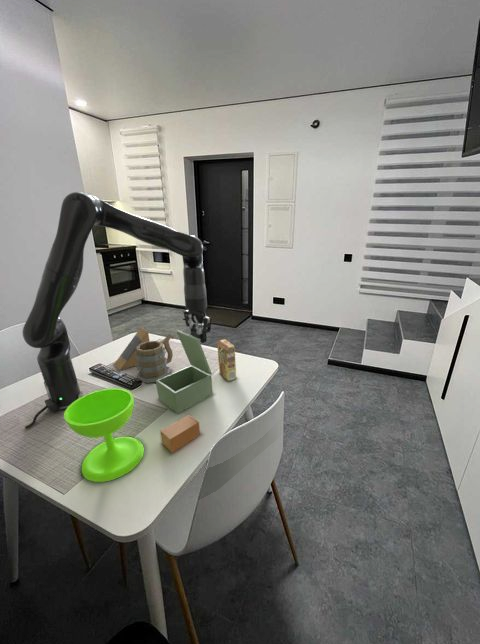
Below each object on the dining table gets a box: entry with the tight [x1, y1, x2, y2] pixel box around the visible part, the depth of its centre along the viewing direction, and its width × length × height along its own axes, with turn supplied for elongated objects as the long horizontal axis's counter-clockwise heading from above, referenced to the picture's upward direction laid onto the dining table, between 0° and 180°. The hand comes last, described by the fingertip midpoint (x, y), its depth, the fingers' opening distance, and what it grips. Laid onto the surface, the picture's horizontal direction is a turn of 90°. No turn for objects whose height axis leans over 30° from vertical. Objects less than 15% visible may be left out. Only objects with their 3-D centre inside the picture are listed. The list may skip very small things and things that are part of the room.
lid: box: [176, 329, 213, 376], centre depth 107 cm, size 16×13×5 cm
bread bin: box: [155, 364, 214, 414], centre depth 107 cm, size 16×13×8 cm
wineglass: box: [63, 387, 145, 483], centre depth 78 cm, size 16×16×18 cm
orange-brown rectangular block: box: [159, 414, 201, 454], centre depth 87 cm, size 10×6×5 cm, turn 138°
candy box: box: [216, 338, 237, 382], centre depth 120 cm, size 9×4×15 cm, turn 33°
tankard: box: [135, 333, 175, 384], centre depth 124 cm, size 20×13×15 cm, turn 148°
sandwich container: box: [113, 326, 151, 371], centre depth 132 cm, size 9×15×15 cm, turn 132°
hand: (198, 340), depth 106 cm, fingers closed on lid, 5 cm apart
